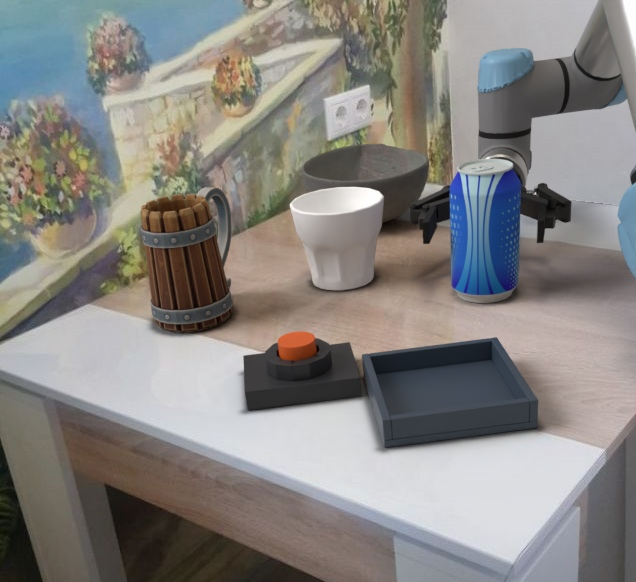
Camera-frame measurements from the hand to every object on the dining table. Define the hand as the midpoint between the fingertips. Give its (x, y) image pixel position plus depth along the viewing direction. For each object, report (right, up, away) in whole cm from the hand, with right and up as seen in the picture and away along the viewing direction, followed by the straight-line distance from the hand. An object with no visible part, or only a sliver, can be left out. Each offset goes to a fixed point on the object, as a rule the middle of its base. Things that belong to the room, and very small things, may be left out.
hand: (482, 232), depth 105 cm
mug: (-35, -8, +12) cm, 37 cm away
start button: (-22, -16, -12) cm, 29 cm away
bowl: (-11, +11, +38) cm, 41 cm away
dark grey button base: (-21, -19, -10) cm, 30 cm away
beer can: (+2, -6, +7) cm, 10 cm away
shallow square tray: (-7, -21, -16) cm, 28 cm away
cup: (-16, -3, +16) cm, 23 cm away
